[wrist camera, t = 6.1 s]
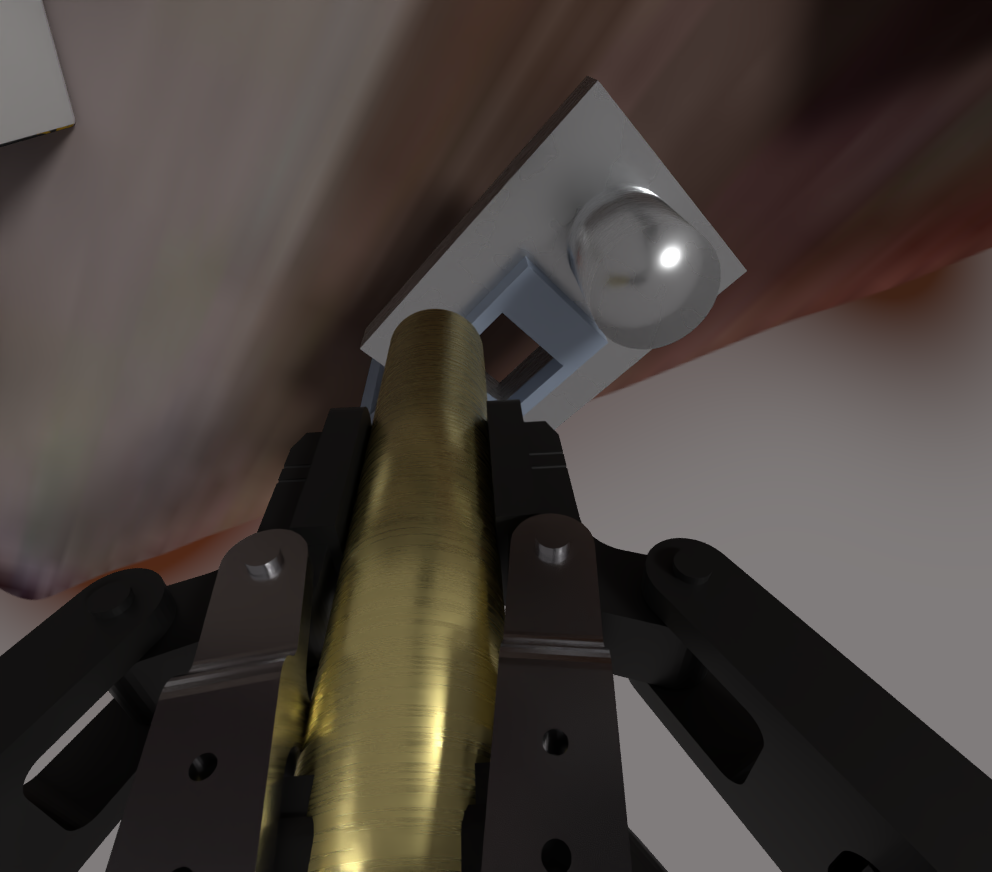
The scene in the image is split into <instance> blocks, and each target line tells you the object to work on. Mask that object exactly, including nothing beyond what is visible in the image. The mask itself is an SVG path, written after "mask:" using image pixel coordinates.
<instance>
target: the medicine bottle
mask: <svg viewBox="0 0 992 872" xmlns="http://www.w3.org/2000/svg"><path fill="white" fill-rule="evenodd" d="M74 124H75V116H74V112H73V109H72V105H71V101H70V98H69V94H68V91H67V87H66V83H65V80H64V76H63V73H62V69H61V65H60V62H59V58H58V55H57V51H56V47H55V44H54V40H53V37H52V33H51V29H50V26H49V22H48V19H47V15H46V12H45V8H44V4H43V1H42V0H0V147H2V146H5V145H9V144H12V143H16V142H19V141H23V140H26V139H30V138H33V137H37V136H40V135H44V134H47V133H51V132H54V131H58V130H61V129H65V128H69V127H72V126H73V125H74Z"/></svg>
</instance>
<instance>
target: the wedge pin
mask: <svg viewBox="0 0 992 872" xmlns="http://www.w3.org/2000/svg"><path fill="white" fill-rule="evenodd" d="M486 401H487V389H486V377H485V365H484V352H483V344H482V341H481V338H480V336H479V333H478V332H477V330H476V329H475V327H474V326H473V325H472V324H471V323H470V322H469V321H468V320H467V319H465V318H464V317H462V316H461V315H459V314H457V313H454V312H452V311H448V310H444V309H426V310H422V311H418V312H416V313H413V314H411V315H410V316H408V317H407V318H405V319H404V320H403V321H402V322H401V323H400V324H399V325H398V326H397V328H396V329H395V331H394V333H393V335H392V337H391V341H390V346H389V350H388V355H387V359H386V364H385V368H384V373H383V377H382V382H381V386H380V391H379V395H378V400H377V404H376V409H375V413H374V418H373V422H372V427H371V431H370V436H369V441H368V445H367V450H366V454H365V459H364V463H363V468H362V472H361V477H360V481H359V486H358V490H357V495H356V499H355V504H354V508H353V513H352V517H351V522H350V526H349V531H348V535H347V540H346V545H345V549H344V554H343V558H342V563H341V567H340V572H339V576H338V581H337V585H336V590H335V594H334V599H333V603H332V608H331V612H330V617H329V621H328V626H327V630H326V635H325V639H324V644H323V649H322V653H321V658H320V662H319V667H318V671H317V676H316V680H315V685H314V689H313V694H312V698H311V703H310V707H309V712H308V717H307V723H306V729H305V734H304V740H303V746H302V752H301V755H300V757H299V759H298V762H297V766H296V771H295V775H294V776H302V775H314V780H313V785H312V790H311V795H310V800H309V805H308V811H307V816H306V817H310V816H312V818H313V823H314V838H313V845H312V850H311V856H310V861H309V867H308V872H461V824H462V820H463V817H464V813H465V810H466V808H467V806H468V805H473V804H476V797H475V763H485V762H490V758H491V746H492V734H493V722H494V710H495V697H496V685H497V673H498V661H499V651H500V644H501V641H503V634H504V621H505V609H504V597H503V585H502V572H501V562H500V556H499V553H498V550H497V545H496V532H495V519H494V506H493V493H492V480H491V467H490V454H489V440H488V427H487V408H486Z"/></svg>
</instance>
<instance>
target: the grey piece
mask: <svg viewBox="0 0 992 872" xmlns="http://www.w3.org/2000/svg"><path fill="white" fill-rule="evenodd" d="M525 256H526V257H527V258H528V259H529V260H530V261H531V262H532V263H533V264H534V265H535V266H536V267H537V268H538V269H540V270H541V271H542V272H543V273H544V274H545V275H546V276H547V277H548V278H549V279H550V280H551V281H552V282H553V283H554V284H555V285H556V286H557V287H558V288H559V289H560V290H561V291H562V292H563V293H564V294H565V295H566V296H568V297H569V298H570V299H571V300H572V301H573V302H574V303H575V304H576V305H577V306H578V307H579V308H580V309H581V310H582V311H583V312H584V313H585V314H586V315H587V316H588V317H589V318H590V319H591V320H592V321H593V322H594V323H596V324H597V326H598V327H599V329H600V330H601V331H602V332H603V334H604V335H605V337H606V339H607V341H608V343H607V344H606V345H605V346H604V347H603V348H601V349H600V350H599V351H598V352H597V353H596V354H594V355H593V356H592V357H591V358H590V359H589V360H588V361H586V362H585V363H584V364H583V365H582V366H581V367H579V368H578V369H577V370H576V371H575V372H574V373H573V374H571V375H570V376H569V377H568V378H567V379H566V380H564V381H563V382H562V383H561V384H560V385H559V386H558V387H556V388H555V389H554V390H553V391H552V392H551V393H549V394H548V395H547V396H546V397H545V398H544V399H543V400H541V401H540V402H539V403H538V404H537V405H536V406H534V407H533V408H532V409H531V410H530V411H529V412H528V413H526V414H525V415H524V416H523V420H524V422H533V421H546V422H547V423H548V424H549V425H550V426H551V427H552V428H553V429H554V430H555V429H556V428H557V427H558V426H560V425H561V424H562V423H563V422H565V421H566V420H567V419H568V418H569V417H571V416H572V415H573V414H574V413H575V412H577V411H578V410H579V409H580V408H581V407H583V406H584V405H585V404H586V403H588V402H589V401H590V400H591V399H592V398H594V397H595V396H596V395H597V394H598V393H600V392H601V391H602V390H603V389H604V388H606V387H607V386H608V385H609V384H611V383H612V382H613V381H614V380H615V379H617V378H618V377H619V376H620V375H621V374H623V373H624V372H625V371H626V370H627V369H629V368H630V367H631V366H632V365H634V364H635V363H636V362H637V361H638V360H640V359H641V358H642V357H643V356H644V355H646V354H647V353H648V352H649V351H650V350H652V349H654V348H658V347H662V346H665V345H668V344H671V343H673V342H675V341H677V340H679V339H681V338H682V337H684V336H686V335H687V334H688V333H690V332H691V331H692V330H693V329H695V328H696V327H697V326H698V325H699V324H700V323H701V322H702V320H703V319H704V318H705V317H706V315H707V314H708V313H709V311H710V309H711V308H712V306H713V304H714V302H715V300H716V297H717V295H718V294H719V293H721V292H722V291H723V290H724V289H726V288H727V287H728V286H729V285H730V284H732V283H733V282H734V281H735V280H736V279H738V278H739V277H740V276H741V275H742V274H744V273H745V272H746V271H747V270H746V269H745V268H744V267H743V265H742V264H741V263H740V261H739V260H738V259H737V258H736V256H735V255H734V254H733V252H732V251H731V250H730V249H729V247H728V246H727V245H726V244H725V242H724V241H723V240H722V238H721V237H720V236H719V235H718V233H717V232H716V231H715V229H714V228H713V227H712V226H711V224H710V223H709V222H708V221H707V219H706V218H705V217H704V215H703V214H702V213H701V212H700V210H699V209H698V208H697V206H696V205H695V204H694V203H693V201H692V200H691V199H690V198H689V196H688V195H687V194H686V192H685V191H684V190H683V189H682V187H681V186H680V185H679V183H678V182H677V181H676V180H675V178H674V177H673V176H672V174H671V173H670V172H669V171H668V169H667V168H666V167H665V166H664V164H663V163H662V162H661V160H660V159H659V158H658V157H657V155H656V154H655V153H654V151H653V150H652V149H651V148H650V146H649V145H648V144H647V143H646V141H645V140H644V139H643V137H642V136H641V135H640V134H639V132H638V131H637V130H636V128H635V127H634V126H633V125H632V123H631V122H630V121H629V120H628V118H627V117H626V116H625V114H624V113H623V112H622V111H621V109H620V108H619V107H618V105H617V104H616V103H615V102H614V100H613V99H612V98H611V96H610V95H609V94H608V93H607V91H606V90H605V89H604V88H603V86H602V85H601V84H600V82H599V81H598V80H596V79H593V78H591V77H589V76H586V77H585V79H584V80H583V81H582V82H581V83H580V84H579V85H578V87H577V88H576V89H575V90H574V91H573V92H572V93H571V95H570V96H569V97H568V98H567V99H566V100H565V101H564V103H563V104H562V105H561V106H560V107H559V108H558V109H557V111H556V112H555V113H554V114H553V115H552V116H551V117H550V119H549V120H548V121H547V122H546V123H545V124H544V125H543V127H542V128H541V129H540V130H539V131H538V132H537V133H536V135H535V136H534V137H533V138H532V139H531V140H530V141H529V143H528V144H527V145H526V146H525V147H524V148H523V149H522V151H521V152H520V153H519V154H518V155H517V156H516V157H515V159H514V160H513V161H512V162H511V163H510V164H509V165H508V167H507V168H506V169H505V170H504V171H503V172H502V173H501V175H500V176H499V177H498V178H497V179H496V180H495V181H494V183H493V184H492V185H491V186H490V187H489V188H488V189H487V191H486V192H485V193H484V194H483V195H482V196H481V197H480V199H479V200H478V201H477V202H476V203H475V204H474V205H473V207H472V208H471V209H470V210H469V211H468V212H467V213H466V215H465V216H464V217H463V218H462V219H461V220H460V221H459V223H458V224H457V225H456V226H455V227H454V228H453V229H452V231H451V232H450V233H449V234H448V235H447V236H446V237H445V239H444V240H443V241H442V242H441V243H440V244H439V245H438V247H437V248H436V249H435V250H434V251H433V252H432V253H431V255H430V256H429V257H428V258H427V259H426V260H425V261H424V263H423V264H422V265H421V266H420V267H419V268H418V269H417V271H416V272H415V273H414V274H413V275H412V276H411V277H410V279H409V280H408V281H407V282H406V283H405V284H404V285H403V287H402V288H401V289H400V290H399V291H398V292H397V293H396V295H395V296H394V297H393V298H392V299H391V300H390V301H389V303H388V304H387V305H386V306H385V307H384V308H383V309H382V311H381V312H380V313H379V314H378V315H377V316H376V317H375V319H374V320H373V321H372V322H371V323H370V324H369V325H368V327H367V328H366V329H365V332H364V336H363V339H362V343H361V346H360V349H361V350H362V351H364V352H365V353H366V354H368V355H369V356H371V357H372V358H373V359H375V360H376V361H378V362H379V363H380V364H382V365H383V366H385V364H386V359H387V355H388V350H389V346H390V341H391V337H392V335H393V333H394V331H395V329H396V328H397V326H398V325H399V324H400V323H401V322H402V321H403V320H404V319H405V318H407V317H408V316H410V315H411V314H413V313H416V312H418V311H422V310H426V309H444V310H448V311H452V312H454V313H457V314H459V315H461V316H462V317H464V318H465V317H466V316H467V315H468V314H469V313H470V312H471V311H472V310H473V309H474V308H475V307H476V306H477V305H478V304H479V303H480V302H481V301H482V300H483V299H484V298H485V297H486V296H487V295H488V294H489V293H490V292H491V290H492V289H493V288H494V287H495V286H496V285H497V284H498V283H499V282H500V281H501V280H502V279H503V278H504V277H505V276H506V275H507V274H508V273H509V272H510V271H511V270H512V269H513V268H514V267H515V266H516V265H517V264H518V263H519V262H520V261H521V260H522V259H523V258H524V257H525ZM553 358H554V357H552V356H551V355H550V354H549V353H548V352H547V351H546V350H544V349H543V348H542V347H541V346H539V347H538V348H537V349H536V350H535V351H533V352H532V353H531V354H530V355H529V356H528V357H527V358H526V359H525V360H524V361H523V362H522V363H520V364H519V365H518V366H517V367H516V368H515V369H514V370H513V371H512V372H511V373H510V374H509V375H507V376H506V377H505V378H504V379H503V380H502V381H501V382H500V383H499V382H498V381H497V380H495V379H494V378H493V377H492V376H490V375H489V374H488V373H487V372H485V377H486V389H487V393H488V394H490V395H491V396H492V397H493V398H495V399H496V400H508V399H509V398H510V397H511V396H512V395H513V394H514V393H515V392H516V391H518V390H519V389H520V388H521V387H522V386H523V385H524V384H525V383H526V382H528V381H529V380H530V379H531V378H532V377H533V376H534V375H535V374H536V373H538V372H539V371H540V370H541V369H542V368H543V367H544V366H545V365H546V364H548V363H549V362H550V361H551V360H552V359H553Z"/></svg>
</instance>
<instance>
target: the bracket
mask: <svg viewBox="0 0 992 872" xmlns="http://www.w3.org/2000/svg"><path fill="white" fill-rule="evenodd" d="M501 313H503V314H504V315H506V316H507V317H508V318H509V319H510V320H511V321H512V322H514V323H515V324H516V325H517V326H518V327H519V328H520V329H522V330H523V331H524V332H525V333H526V334H527V335H528V336H530V337H531V338H532V339H533V340H534V341H535V342H536V343H538V344H539V345H540V346H541V347H542V348H543V349H544V350H546V351H547V352H548V353H549V354H550V355H551V356H552V357H554V358H553V359H552V360H551V361H550V362H549V363H548V364H546V365H545V366H544V367H543V368H542V369H541V370H540V371H539V372H538V373H536V374H535V375H534V376H533V377H532V378H531V379H530V380H529V381H528V382H526V383H525V384H524V385H523V386H522V387H521V388H520V389H519V390H518V391H516V392H515V393H514V394H513V395H512V396H511V397H510V398H509V399H508V400H514V399H520V403H521V409H522V414H523V416H524V415H525V414H526V413H528V412H529V411H530V410H531V409H532V408H533V407H534V406H536V405H537V404H538V403H539V402H540V401H541V400H543V399H544V398H545V397H546V396H547V395H548V394H549V393H551V392H552V391H553V390H554V389H555V388H556V387H558V386H559V385H560V384H561V383H562V382H563V381H564V380H566V379H567V378H568V377H569V376H570V375H571V374H573V373H574V372H575V371H576V370H577V369H578V368H579V367H581V366H582V365H583V364H584V363H585V362H586V361H588V360H589V359H590V358H591V357H592V356H593V355H594V354H596V353H597V352H598V351H599V350H600V349H601V348H603V347H604V346H605V345H606V344H607V343H608V341H607V339H606V337H605V335H604V334H603V332H602V331H601V330H600V329H599V327H598V326H597V324H596V323H594V322H593V321H592V320H591V319H590V318H589V317H588V316H587V315H586V314H585V313H584V312H583V311H582V310H581V309H580V308H579V307H578V306H577V305H576V304H575V303H574V302H573V301H572V300H571V299H570V298H569V297H568V296H566V295H565V294H564V293H563V292H562V291H561V290H560V289H559V288H558V287H557V286H556V285H555V284H554V283H553V282H552V281H551V280H550V279H549V278H548V277H547V276H546V275H545V274H544V273H543V272H542V271H541V270H540V269H538V268H537V267H536V266H535V265H534V264H533V263H532V262H531V261H530V260H529V259H528V258H527V257H526V256H525V257H524V258H523V259H522V260H521V261H520V262H519V263H518V264H517V265H516V266H515V267H514V268H513V269H512V270H511V271H510V272H509V273H508V274H507V275H506V276H505V277H504V278H503V279H502V280H501V281H500V282H499V283H498V284H497V285H496V286H495V287H494V288H493V289H492V290H491V292H490V293H489V294H488V295H487V296H486V297H485V298H484V299H483V300H482V301H481V302H480V303H479V304H478V305H477V306H476V307H475V308H474V309H473V310H472V311H471V312H470V313H469V314H468V315H467V316H466V317H465V319H467V320H468V321H469V322H470V323H471V324H472V325H473V326H474V327H475V329H476V330H477V332H478V333H479V335H480V334H481V333H482V332H483V331H484V330H485V329H486V328H487V327H488V326H489V325H490V324H491V323H492V322H493V321H494V320H495V319H496V318H497V317H498V316H499V315H500V314H501ZM384 368H385V366H383V365H382V364H380V363H379V362H378V361H376V360H375V359H373V358H372V361H371V365H370V369H369V373H368V377H367V381H366V385H365V389H364V394H363V398H362V402H361V406H360V407H367V408H368V411H369V414H370V418H371V424H372V422H373V418H374V413H375V409H376V404H377V400H378V395H379V391H380V386H381V382H382V377H383V373H384ZM493 400H496V399H495V398H493V397H492V396H491V395H490V394H488V393H487V401H493Z"/></svg>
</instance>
